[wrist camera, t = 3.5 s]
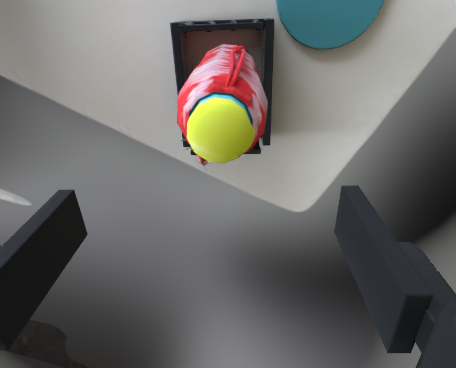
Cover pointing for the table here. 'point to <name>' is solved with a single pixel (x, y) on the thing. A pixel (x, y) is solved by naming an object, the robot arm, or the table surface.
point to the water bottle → (222, 105)
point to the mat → (327, 20)
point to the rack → (265, 24)
